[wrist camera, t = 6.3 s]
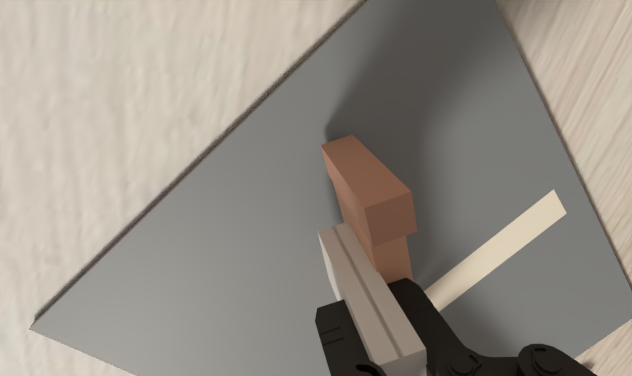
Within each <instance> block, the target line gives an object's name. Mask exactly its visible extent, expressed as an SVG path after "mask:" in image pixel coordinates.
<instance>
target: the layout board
mask: <svg viewBox="0 0 632 376" xmlns="http://www.w3.org/2000/svg"><path fill="white" fill-rule="evenodd" d="M349 135H353V136H355V137H356V138H357V139H358V140H359V141H360V142H361V143H362V144H363V145H364V146H365V147H366V148H367V149H368V150H369V151H370V152H371V153H372V154H373V155H374V156H375V157H376V158H377V159H378V160H379V161H380V162H381V163H382V164H384V165H385V166H386V167H387V168H388V169H389V170H390V171H391V172H392V173H393V174H394V175H395V176H396V177H397V178H398V179H399V180H400V181H401V182H402V183H403V184H404V185H405V186H406V187H407V188H408V189H409V190H410V191H411V192H412V199H413V205H414V212H415V218H416V225H417V232H414V233H412V234H409V235H406V241H407V247H408V252H409V258H410V264H411V270H412V276H413V281H414V282H415V283H416V284H418V285H419V286H420V287H421V288H422V290H423V291H424V293H425V294H426V295H427V297H428V298H429V299H430V301H431V302H432V303H433V305H434V307H436V309H437V310H438V312H439V313H440V314H441V316H442V317H443V318H444V320H445V321H446V322H447V324H448V325H449V326H450V328H451V329H452V331H453V332H454V333H455V335H456V336H457V337H458V339H459V340H460V341H461V342H462V343H463V345H464V346H466V347H467V348H469V349H471V350H473V351H475V352H476V353H477V354H479V355H483V356H487V357H518V354H519V352H520V351H521V350H522V348H523V347H525V346H528V345H530V344H545V345H549V346H553V347H555V348H557V349H559V350H560V351H562V352H564V353H566V354H567V355H568V356H570V357H571V358H573V359H574V358H576V357H577V356H579V355H580V354H582V353H583V352H584V351H586V350H587V349H589V348H590V347H592V346H593V345H594V344H596V343H597V342H599V341H600V340H602V339H603V338H605V337H606V336H607V335H609V334H610V333H612V332H613V331H615V330H616V329H617V328H619V327H620V326H622V325H623V324H625V323H626V322H627V321H629V320H630V319H632V290H631V288H630V286H629V284H628V281H627V279H626V277H625V275H624V273H623V271H622V269H621V267H620V265H619V262H618V260H617V258H616V256H615V254H614V252H613V250H612V248H611V246H610V243H609V241H608V239H607V237H606V235H605V233H604V231H603V229H602V226H601V224H600V222H599V220H598V218H597V216H596V214H595V212H594V210H593V207H592V205H591V203H590V201H589V199H588V197H587V195H586V193H585V191H584V188H583V186H582V184H581V182H580V180H579V178H578V176H577V174H576V172H575V169H574V167H573V165H572V163H571V161H570V159H569V157H568V155H567V153H566V150H565V148H564V146H563V144H562V142H561V140H560V138H559V136H558V134H557V131H556V129H555V127H554V125H553V123H552V121H551V119H550V117H549V114H548V112H547V110H546V108H545V106H544V104H543V102H542V100H541V98H540V95H539V93H538V91H537V89H536V87H535V85H534V83H533V81H532V79H531V76H530V74H529V72H528V70H527V68H526V66H525V64H524V62H523V60H522V57H521V55H520V53H519V51H518V49H517V47H516V45H515V43H514V41H513V38H512V36H511V34H510V32H509V30H508V28H507V26H506V24H505V22H504V19H503V17H502V15H501V13H500V11H499V9H498V7H497V5H496V2H495V0H366V1H365V2H364V3H363V4H362V5H361V6H360V7H359V8H358V9H357V10H356V11H355V12H354V13H353V14H352V15H351V16H349V17H348V18H347V19H346V20H345V21H344V22H343V23H342V24H341V25H340V26H339V27H338V28H337V29H336V30H335V31H334V32H333V33H332V34H331V35H330V36H329V37H328V38H327V39H326V40H325V41H324V42H323V43H322V44H321V45H320V46H318V47H317V48H316V49H315V50H314V51H313V52H312V53H311V54H310V55H309V56H308V57H307V58H306V59H305V60H304V61H303V62H302V63H301V64H300V65H299V66H298V67H297V68H296V69H295V70H294V71H293V72H292V73H291V74H290V75H288V76H287V77H286V78H285V79H284V80H283V81H282V82H281V83H280V84H279V85H278V86H277V87H276V88H275V89H274V90H273V91H272V92H271V93H270V94H269V95H268V96H267V97H266V98H265V99H264V100H263V101H262V102H261V103H260V104H259V105H257V106H256V107H255V108H254V109H253V110H252V111H251V112H250V113H249V114H248V115H247V116H246V117H245V118H244V119H243V120H242V121H241V122H240V123H239V124H238V125H237V126H236V127H235V128H234V129H233V130H232V131H231V132H230V133H229V134H228V135H226V136H225V137H224V138H223V139H222V140H221V141H220V142H219V143H218V144H217V145H216V146H215V147H214V148H213V149H212V150H211V151H210V152H209V153H208V154H207V155H206V156H205V157H204V158H203V159H202V160H201V161H200V162H199V163H198V164H197V165H195V166H194V167H193V168H192V169H191V170H190V171H189V172H188V173H187V174H186V175H185V176H184V177H183V178H182V179H181V180H180V181H179V182H178V183H177V184H176V185H175V186H174V187H173V188H172V189H171V190H170V191H169V192H168V193H167V194H165V195H164V196H163V197H162V198H161V199H160V200H159V201H158V202H157V203H156V204H155V205H154V206H153V207H152V208H151V209H150V210H149V211H148V212H147V213H146V214H145V215H144V216H143V217H142V218H141V219H140V220H139V221H138V222H137V223H136V224H134V225H133V226H132V227H131V228H130V229H129V230H128V231H127V232H126V233H125V234H124V235H123V236H122V237H121V238H120V239H119V240H118V241H117V242H116V243H115V244H114V245H113V246H112V247H111V248H110V249H109V250H108V251H107V252H106V253H105V254H103V255H102V256H101V257H100V258H99V259H98V260H97V261H96V262H95V263H94V264H93V265H92V266H91V267H90V268H89V269H88V270H87V271H86V272H85V273H84V274H83V275H82V276H81V277H80V278H79V279H78V280H77V281H76V282H75V283H73V284H72V285H71V286H70V287H69V288H68V289H67V290H66V291H65V292H64V293H63V294H62V295H61V296H60V297H59V298H58V299H57V300H56V301H55V302H54V303H53V304H52V305H51V306H50V307H49V308H48V309H47V310H46V311H45V312H44V313H42V314H41V315H40V316H39V317H38V318H37V319H36V320H35V321H34V322H33V324H32V325H31V327H30V328H29V329H30V330H32V331H35V332H37V333H39V334H42V335H44V336H46V337H48V338H51V339H53V340H55V341H58V342H60V343H62V344H65V345H67V346H69V347H72V348H74V349H76V350H79V351H81V352H83V353H85V354H88V355H90V356H92V357H95V358H97V359H99V360H102V361H104V362H106V363H109V364H111V365H113V366H116V367H118V368H120V369H122V370H125V371H127V372H129V373H132V374H134V375H136V376H331V375H330V372H329V368H328V365H327V361H326V358H325V355H324V351H323V348H322V344H321V341H320V337H319V334H318V330H317V327H316V323H315V317H316V312H317V308H319V307H322V306H325V305H328V304H331V303H334V302H337V298H336V296H335V293H334V291H333V288H332V286H331V283H330V281H329V277H328V273H327V269H326V265H325V261H324V257H323V252H322V248H321V244H320V240H319V236H318V232H317V231H319V230H322V229H326V228H329V227H332V226H336V225H339V224H342V223H344V221H343V217H342V214H341V210H340V206H339V203H338V199H337V195H336V192H335V188H334V184H333V181H332V180H331V178H330V176H329V175H328V171H327V167H326V164H325V160H324V157H323V153H322V149H321V146H320V145H322V144H325V143H328V142H331V141H334V140H337V139H340V138H343V137H346V136H349Z"/></svg>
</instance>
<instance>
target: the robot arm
mask: <svg viewBox="0 0 632 376" xmlns="http://www.w3.org/2000/svg"><path fill="white" fill-rule="evenodd" d="M317 232H318V236H319V240H320V244H321V248H322V252H323V257H324V261H325V265H326V269H327V273H328V277H329V281H330V283H331V286H332V288H333V291H334V293H335V296H336V298H337V302H334V303H331V304H328V305H325V306H322V307H319V308H317V312H316V317H315V323H316V327H317V330H318V334H319V337H320V341H321V344H322V348H323V351H324V355H325V358H326V361H327V365H328V368H329V372H330V375H331V376H597V375H596V374H594V373H593V372H591V371H590V370H588V369H587V368H586V367H584V366H583V365H581V364H580V363H578V362H577V361H576V360H574V359H573V358H571V357H570V356H568V355H567V354H566V353H564V352H562V351H560V350H559V349H557V348H555V347H553V346H549V345H545V344H530V345H528V346H525V347H523V348H522V350H521V351H520V352H519V354H518V357H487V356H483V355H479V354H477V353H476V352H475V351H473V350H471V349H469V348H467V347H466V346H464V345H463V343H462V342H461V341H460V340H459V339H458V337H457V336H456V335H455V333H454V332H453V331H452V329H451V328H450V326H449V325H448V324H447V322H446V321H445V320H444V318H443V317H442V316H441V314H440V313H439V312H438V310H437V309H436V307H434V305H433V303H432V302H431V301H430V299H429V298H428V297H427V295H426V294H425V293H424V291H423V290H422V288H421V287H420V286H419V285H418V284H416V283H415V282H413V281H412V280H410V279H408V278H404V279H401V280H398V281H395V282H392V283H389V284H386V283H385V281H384V279H383V278H382V276H381V275H380V273H379V272H376V270H375V268H374V267H373V265H372V263H371V261H370V260H369V258H368V256H367V254H366V253H365V251H364V249H363V247H362V246H361V244H360V242H359V240H358V239H357V237H356V235H355V233H354V232H353V230H352V228H351V226H350V225H349V223H348V222H345V223H342V224H339V225H336V226H332V227H329V228H326V229H322V230H319V231H317Z"/></svg>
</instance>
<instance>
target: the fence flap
mask: <svg viewBox="0 0 632 376" xmlns="http://www.w3.org/2000/svg"><path fill="white" fill-rule="evenodd" d="M320 146H321V149H322V153H323V157H324V160H325V164H326V167H327V171H328V175H329V176H330V178H331V180H332V181H333V184H334V188H335V192H336V195H337V199H338V203H339V206H340V210H341V214H342V217H343V221H344V223H345V222H348V223H349V225H350V226H351V228H352V230H353V232H354V233H355V235H356V237H357V239H358V240H359V242H360V244H361V246H362V247H363V249H364V251H365V253H366V254H367V256H368V258H369V260H370V261H371V263H372V265H373V267H374V268H375V270H376V272H379V273H380V275H381V276H382V278H383V279H384V281H385V283H386V284H389V283H392V282H395V281H398V280H401V279H404V278H408V279H410V280H412V281H413V276H412V270H411V264H410V258H409V252H408V247H407V241H406V235H409V234H412V233H414V232H417V225H416V218H415V212H414V205H413V199H412V192H411V191H410V190H409V189H408V188H407V187H406V186H405V185H404V184H403V183H402V182H401V181H400V180H399V179H398V178H397V177H396V176H395V175H394V174H393V173H392V172H391V171H390V170H389V169H388V168H387V167H386V166H385V165H384V164H382V163H381V162H380V161H379V160H378V159H377V158H376V157H375V156H374V155H373V154H372V153H371V152H370V151H369V150H368V149H367V148H366V147H365V146H364V145H363V144H362V143H361V142H360V141H359V140H358V139H357V138H356V137H355V136H353V135H349V136H346V137H343V138H340V139H337V140H334V141H331V142H328V143H325V144H322V145H320ZM413 282H414V281H413Z"/></svg>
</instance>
